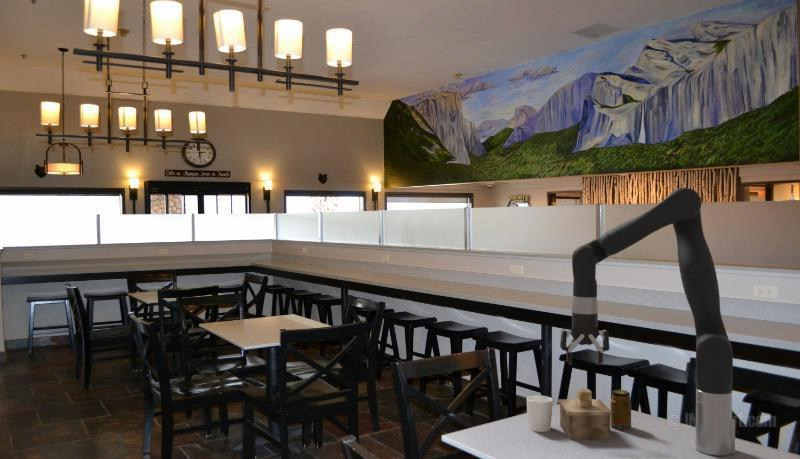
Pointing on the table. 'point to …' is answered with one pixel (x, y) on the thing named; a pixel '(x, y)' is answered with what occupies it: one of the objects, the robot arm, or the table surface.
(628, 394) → the condiment
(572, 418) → the box
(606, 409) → the lid
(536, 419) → the white cup
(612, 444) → the table surface
